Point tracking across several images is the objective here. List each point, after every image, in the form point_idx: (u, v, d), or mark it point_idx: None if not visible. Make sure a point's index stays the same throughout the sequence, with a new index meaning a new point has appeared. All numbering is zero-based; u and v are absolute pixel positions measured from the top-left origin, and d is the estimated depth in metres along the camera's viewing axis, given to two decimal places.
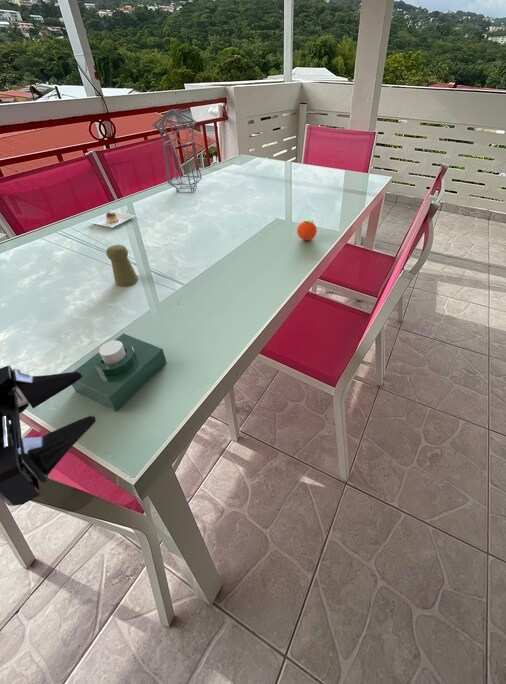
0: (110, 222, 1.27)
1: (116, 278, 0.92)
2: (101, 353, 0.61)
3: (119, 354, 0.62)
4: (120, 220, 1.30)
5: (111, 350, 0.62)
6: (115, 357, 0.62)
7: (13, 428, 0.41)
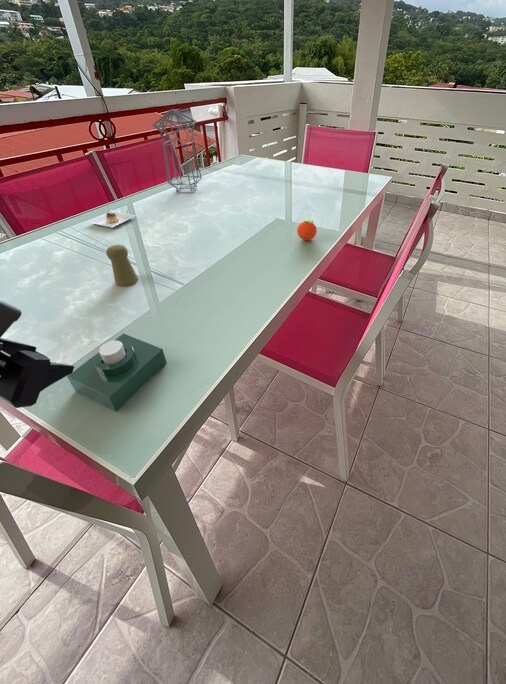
0: (110, 222, 1.27)
1: (116, 278, 0.92)
2: (101, 353, 0.61)
3: (119, 354, 0.62)
4: (120, 220, 1.30)
5: (111, 350, 0.62)
6: (115, 357, 0.62)
7: None
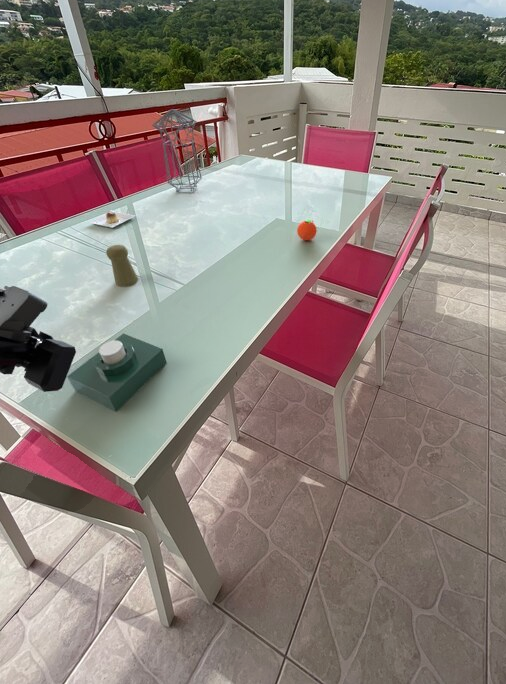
0: (110, 222, 1.27)
1: (116, 278, 0.92)
2: (101, 353, 0.61)
3: (119, 354, 0.62)
4: (120, 220, 1.30)
5: (111, 350, 0.62)
6: (115, 357, 0.62)
7: None
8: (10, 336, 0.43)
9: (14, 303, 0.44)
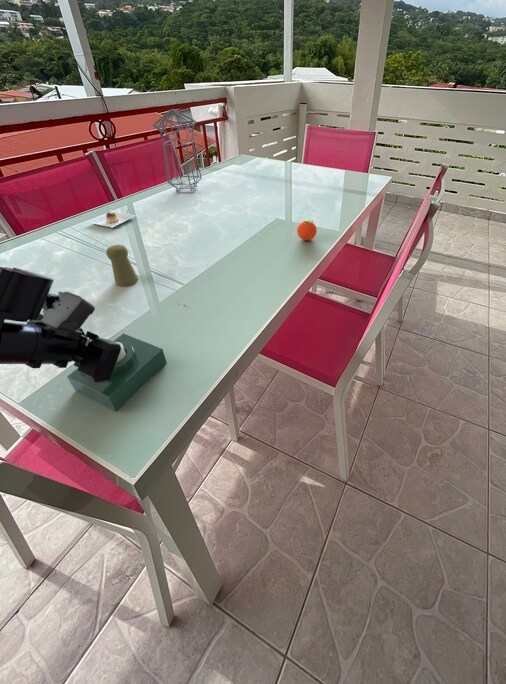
0: (110, 222, 1.27)
1: (116, 278, 0.92)
2: None
3: (120, 356, 0.62)
4: (120, 220, 1.30)
5: None
6: None
7: None
8: (66, 335, 0.50)
9: (68, 306, 0.52)
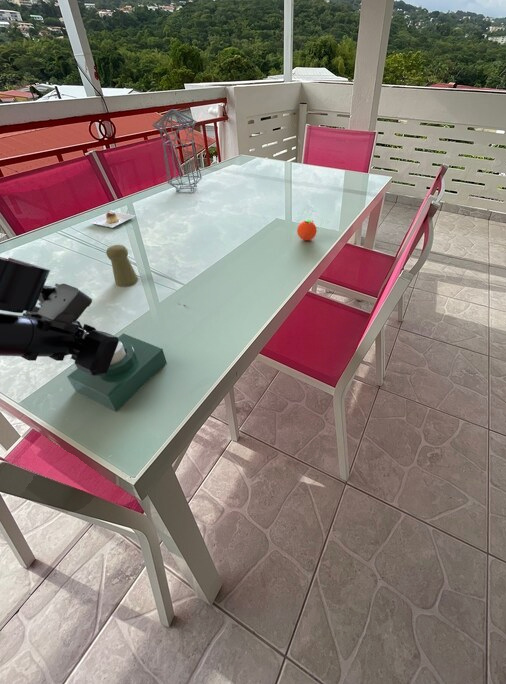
0: (110, 222, 1.27)
1: (116, 278, 0.92)
2: None
3: (119, 354, 0.62)
4: (120, 220, 1.30)
5: None
6: (115, 357, 0.62)
7: None
8: (63, 327, 0.50)
9: (65, 298, 0.51)
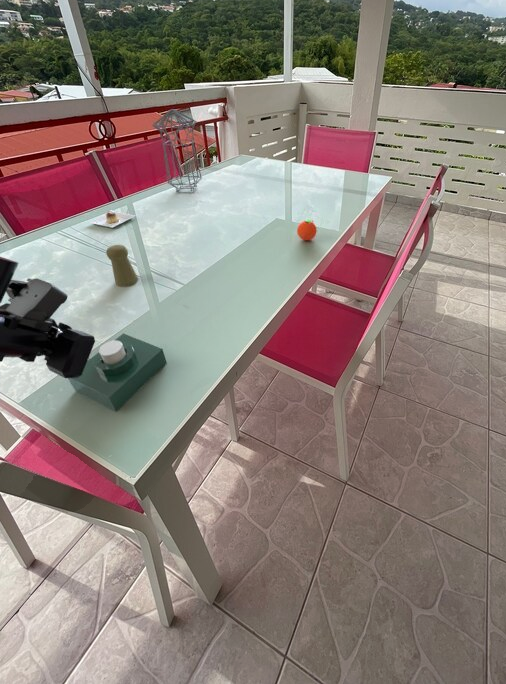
0: (110, 222, 1.27)
1: (116, 278, 0.92)
2: (101, 353, 0.61)
3: (119, 354, 0.62)
4: (120, 220, 1.30)
5: (111, 350, 0.62)
6: (115, 357, 0.62)
7: None
8: (34, 325, 0.46)
9: (37, 294, 0.47)
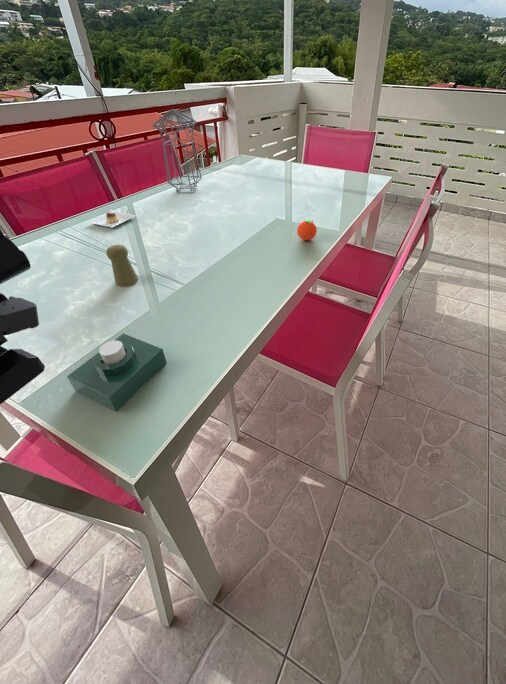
0: (110, 222, 1.27)
1: (116, 278, 0.92)
2: (101, 353, 0.61)
3: (119, 354, 0.62)
4: (120, 220, 1.30)
5: (111, 350, 0.62)
6: (115, 357, 0.62)
7: None
8: None
9: (15, 307, 0.44)
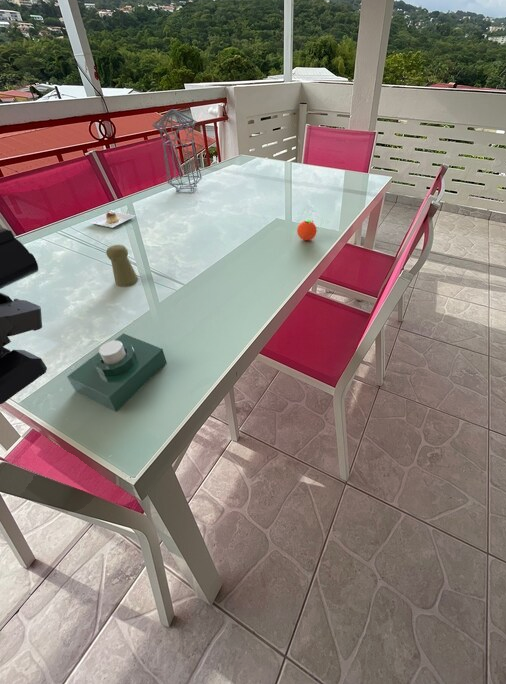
0: (110, 222, 1.27)
1: (116, 278, 0.92)
2: (101, 353, 0.61)
3: (119, 354, 0.62)
4: (120, 220, 1.30)
5: (111, 350, 0.62)
6: (115, 357, 0.62)
7: None
8: None
9: (20, 308, 0.45)
